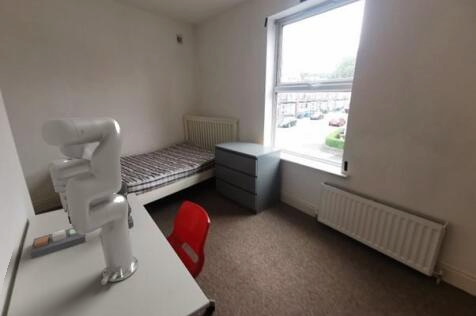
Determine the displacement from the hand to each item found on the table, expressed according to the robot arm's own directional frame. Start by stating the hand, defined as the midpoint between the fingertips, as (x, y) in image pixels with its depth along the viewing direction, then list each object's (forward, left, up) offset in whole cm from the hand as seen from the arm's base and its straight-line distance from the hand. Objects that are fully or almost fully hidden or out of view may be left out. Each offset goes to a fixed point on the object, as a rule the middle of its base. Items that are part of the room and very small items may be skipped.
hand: (74, 222), depth 102 cm
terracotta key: (-7, +11, -8) cm, 15 cm away
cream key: (-3, +6, -7) cm, 10 cm away
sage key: (0, +1, -8) cm, 8 cm away
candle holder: (+10, -19, -9) cm, 24 cm away
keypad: (-3, +6, -9) cm, 11 cm away
